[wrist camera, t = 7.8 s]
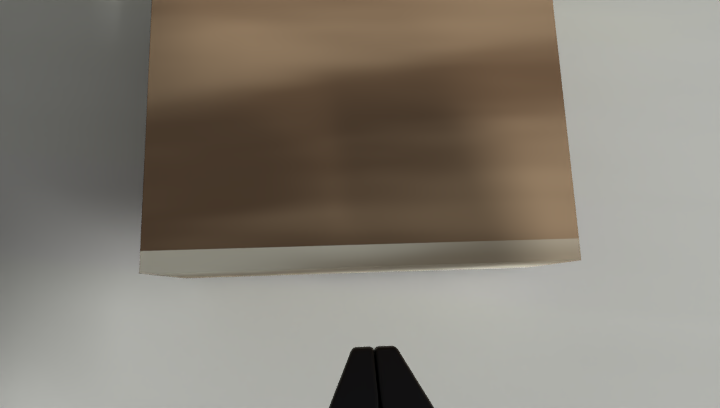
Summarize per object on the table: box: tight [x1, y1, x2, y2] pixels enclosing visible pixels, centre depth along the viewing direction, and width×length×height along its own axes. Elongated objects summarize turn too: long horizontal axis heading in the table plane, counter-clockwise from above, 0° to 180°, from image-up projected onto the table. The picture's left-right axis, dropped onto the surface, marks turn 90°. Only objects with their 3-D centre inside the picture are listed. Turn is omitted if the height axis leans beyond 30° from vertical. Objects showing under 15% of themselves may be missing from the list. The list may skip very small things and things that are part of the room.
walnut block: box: [139, 0, 581, 278], centre depth 16 cm, size 4×12×11 cm
